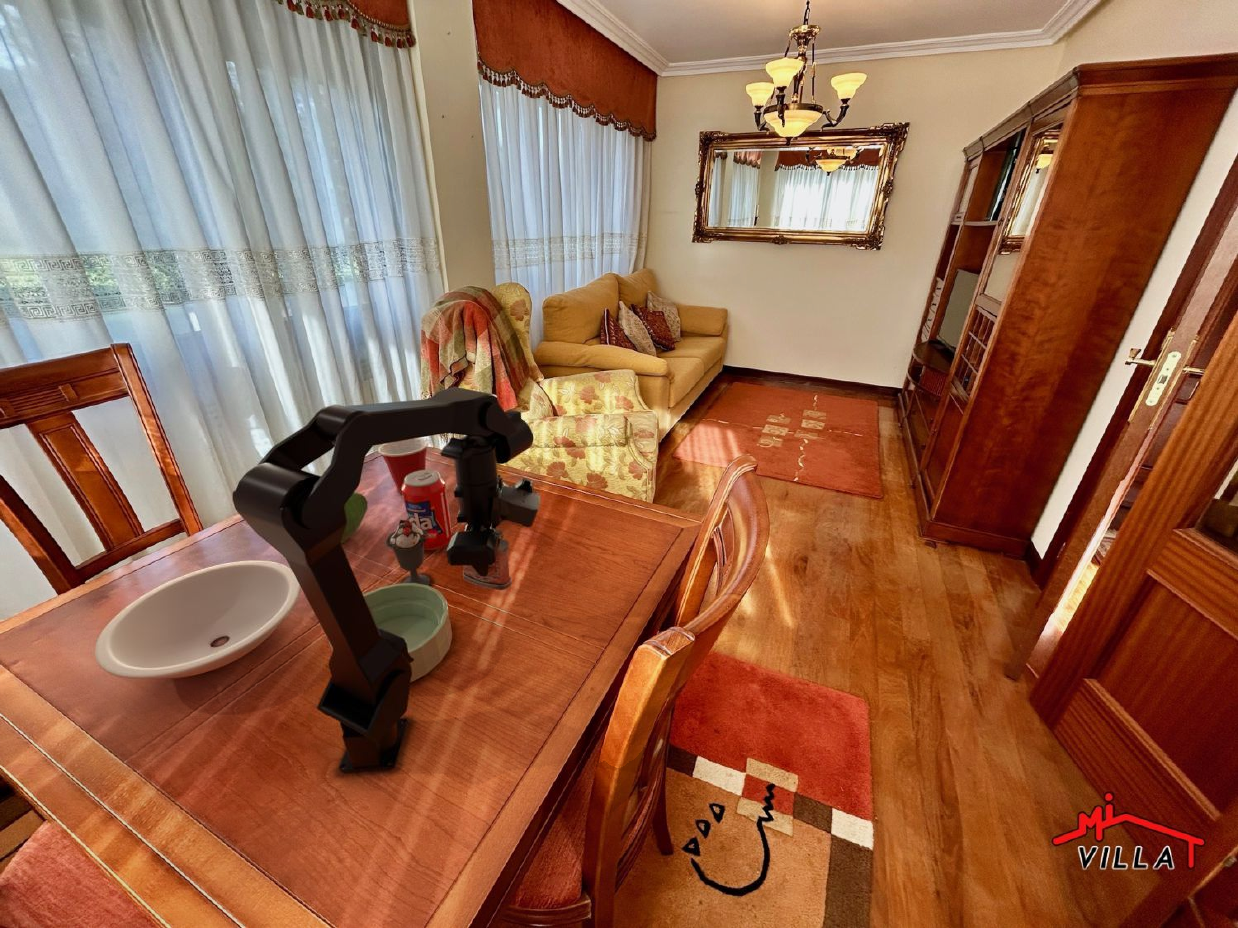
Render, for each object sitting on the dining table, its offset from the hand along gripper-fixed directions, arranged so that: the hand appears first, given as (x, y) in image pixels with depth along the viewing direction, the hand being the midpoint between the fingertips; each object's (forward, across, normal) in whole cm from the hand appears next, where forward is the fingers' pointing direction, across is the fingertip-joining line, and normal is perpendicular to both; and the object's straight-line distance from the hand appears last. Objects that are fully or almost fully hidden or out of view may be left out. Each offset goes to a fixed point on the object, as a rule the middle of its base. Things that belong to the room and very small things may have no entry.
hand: (486, 566), depth 77 cm
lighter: (+3, 0, 0) cm, 3 cm away
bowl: (+12, -4, +14) cm, 19 cm away
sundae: (+12, +11, +15) cm, 22 cm away
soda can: (+12, +24, +15) cm, 30 cm away
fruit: (+12, +26, +34) cm, 45 cm away
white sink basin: (+12, -2, +41) cm, 42 cm away
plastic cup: (+12, +46, +25) cm, 53 cm away
